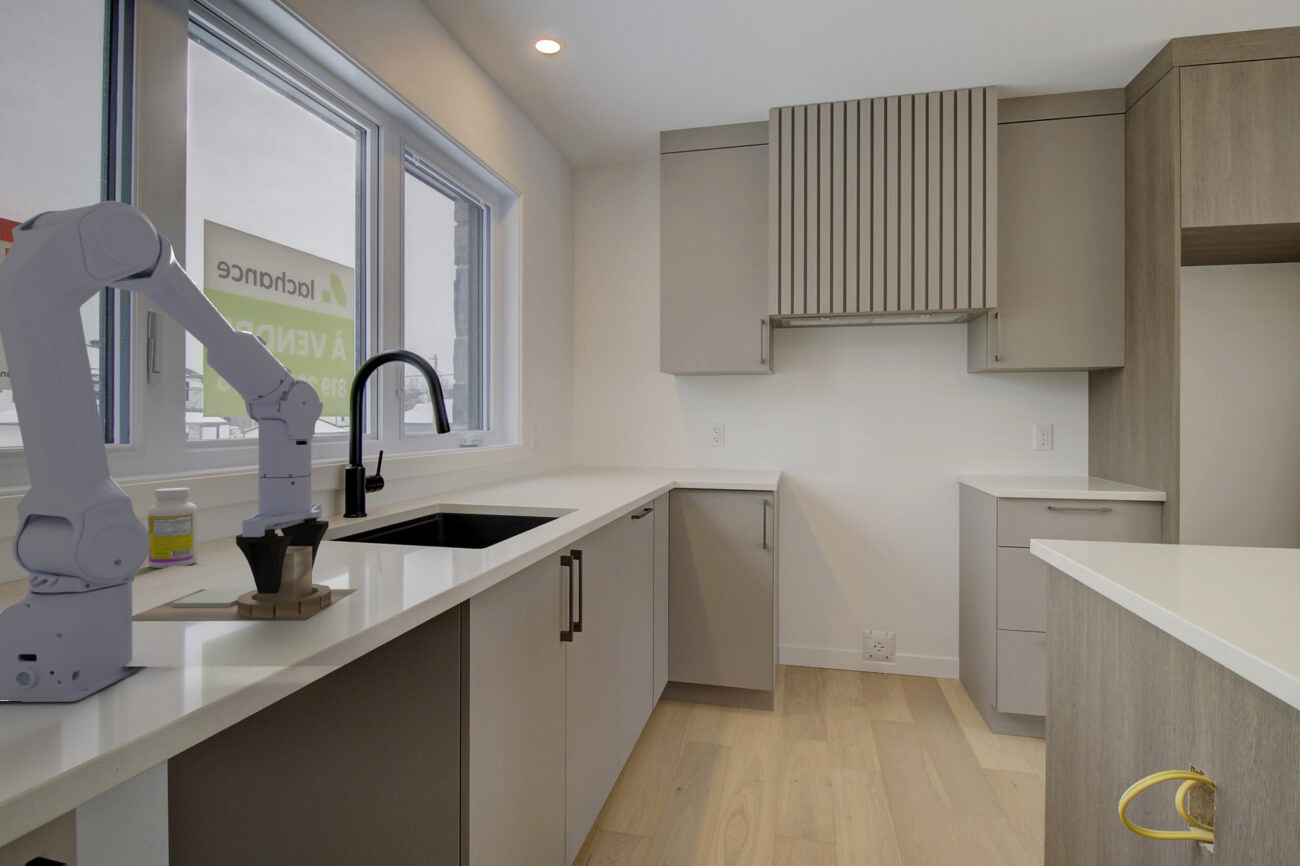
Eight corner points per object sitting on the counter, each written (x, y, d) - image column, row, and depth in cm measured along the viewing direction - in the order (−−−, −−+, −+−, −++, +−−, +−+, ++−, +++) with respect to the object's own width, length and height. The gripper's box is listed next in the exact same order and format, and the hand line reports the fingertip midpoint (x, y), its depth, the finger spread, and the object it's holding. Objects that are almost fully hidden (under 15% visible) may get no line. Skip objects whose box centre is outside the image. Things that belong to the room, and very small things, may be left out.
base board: (305, 630, 74) (305, 607, 74) (120, 631, 74) (120, 607, 74) (357, 597, 88) (357, 578, 88) (201, 598, 88) (201, 578, 88)
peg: (294, 610, 78) (294, 553, 78) (256, 610, 78) (256, 553, 78) (312, 600, 82) (312, 546, 82) (276, 600, 82) (276, 546, 82)
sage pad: (229, 606, 79) (229, 602, 79) (172, 606, 79) (172, 602, 79) (262, 592, 86) (262, 588, 86) (209, 592, 86) (209, 588, 86)
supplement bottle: (162, 561, 111) (162, 487, 111) (205, 560, 112) (204, 486, 112) (139, 570, 104) (138, 491, 104) (184, 568, 105) (184, 490, 105)
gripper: (286, 481, 73) (287, 600, 73) (344, 471, 87) (344, 571, 87) (223, 481, 72) (224, 601, 73) (291, 471, 87) (291, 571, 87)
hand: (285, 584), depth 80 cm, fingers open, 7 cm apart
